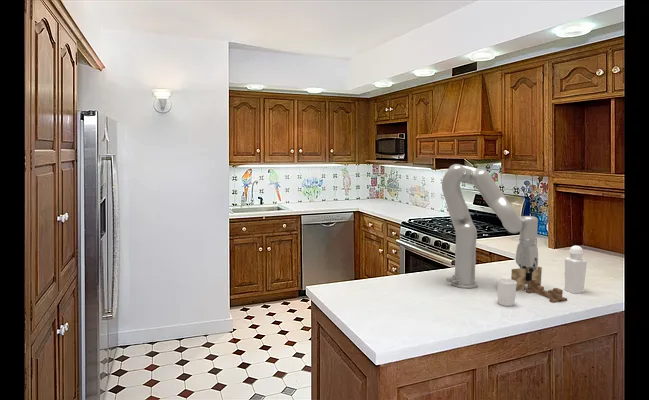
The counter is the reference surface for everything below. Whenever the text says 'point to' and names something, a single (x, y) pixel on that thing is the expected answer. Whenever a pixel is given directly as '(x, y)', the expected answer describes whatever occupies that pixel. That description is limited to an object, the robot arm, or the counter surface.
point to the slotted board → (520, 277)
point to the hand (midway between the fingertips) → (526, 279)
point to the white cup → (506, 291)
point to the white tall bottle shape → (575, 270)
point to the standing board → (553, 294)
